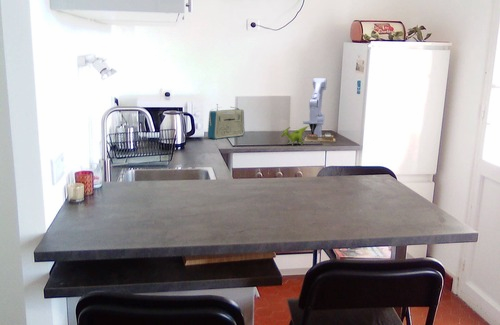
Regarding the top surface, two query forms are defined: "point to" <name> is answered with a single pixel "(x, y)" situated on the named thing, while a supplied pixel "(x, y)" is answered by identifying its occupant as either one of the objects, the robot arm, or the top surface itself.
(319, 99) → the robot arm
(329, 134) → the grey plug
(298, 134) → the toy
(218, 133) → the radio
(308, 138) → the socket panel
